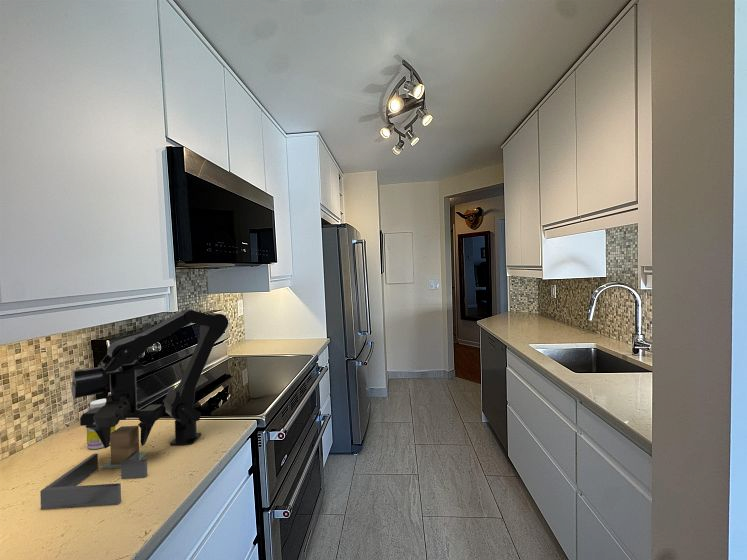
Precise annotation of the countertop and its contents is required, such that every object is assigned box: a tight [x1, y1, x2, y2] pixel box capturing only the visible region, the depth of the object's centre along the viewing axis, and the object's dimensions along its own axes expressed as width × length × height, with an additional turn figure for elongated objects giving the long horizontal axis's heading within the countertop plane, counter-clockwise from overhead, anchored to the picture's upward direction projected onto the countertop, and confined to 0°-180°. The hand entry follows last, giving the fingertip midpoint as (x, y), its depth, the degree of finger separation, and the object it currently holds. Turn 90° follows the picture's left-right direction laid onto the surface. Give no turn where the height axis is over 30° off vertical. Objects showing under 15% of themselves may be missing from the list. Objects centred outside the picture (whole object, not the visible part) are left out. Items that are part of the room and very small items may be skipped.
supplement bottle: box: [85, 398, 116, 450], centre depth 102 cm, size 7×7×13 cm
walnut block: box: [109, 425, 140, 464], centre depth 93 cm, size 4×4×8 cm
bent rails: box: [39, 450, 148, 511], centre depth 82 cm, size 16×16×4 cm
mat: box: [100, 451, 149, 470], centre depth 93 cm, size 7×8×1 cm
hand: (125, 446), depth 93 cm, fingers open, 9 cm apart
